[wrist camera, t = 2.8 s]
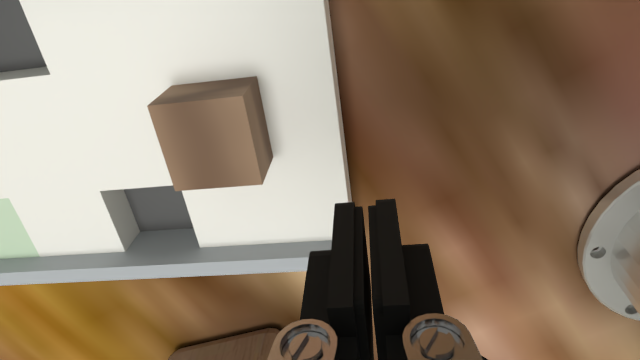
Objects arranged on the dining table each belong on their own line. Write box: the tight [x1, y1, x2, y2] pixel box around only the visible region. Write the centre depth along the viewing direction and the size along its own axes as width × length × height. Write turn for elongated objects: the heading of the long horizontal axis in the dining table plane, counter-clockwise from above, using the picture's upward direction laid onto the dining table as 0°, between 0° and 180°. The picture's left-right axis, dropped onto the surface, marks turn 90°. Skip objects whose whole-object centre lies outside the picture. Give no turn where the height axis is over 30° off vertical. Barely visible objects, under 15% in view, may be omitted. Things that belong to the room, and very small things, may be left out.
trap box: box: [0, 0, 352, 286], centre depth 26 cm, size 27×18×4 cm, turn 98°
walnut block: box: [147, 76, 273, 191], centre depth 23 cm, size 4×4×3 cm
